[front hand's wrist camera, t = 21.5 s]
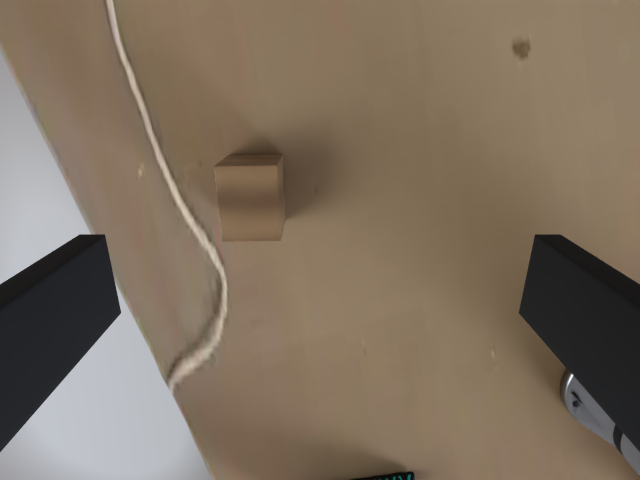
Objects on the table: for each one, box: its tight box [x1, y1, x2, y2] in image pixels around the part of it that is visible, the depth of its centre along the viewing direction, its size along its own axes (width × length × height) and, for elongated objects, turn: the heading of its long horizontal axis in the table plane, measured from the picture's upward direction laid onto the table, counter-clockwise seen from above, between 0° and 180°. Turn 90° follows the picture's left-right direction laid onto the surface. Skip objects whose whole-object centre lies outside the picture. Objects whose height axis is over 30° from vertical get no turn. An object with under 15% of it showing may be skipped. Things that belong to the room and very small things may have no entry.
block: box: [214, 154, 286, 242], centre depth 45 cm, size 8×6×7 cm
